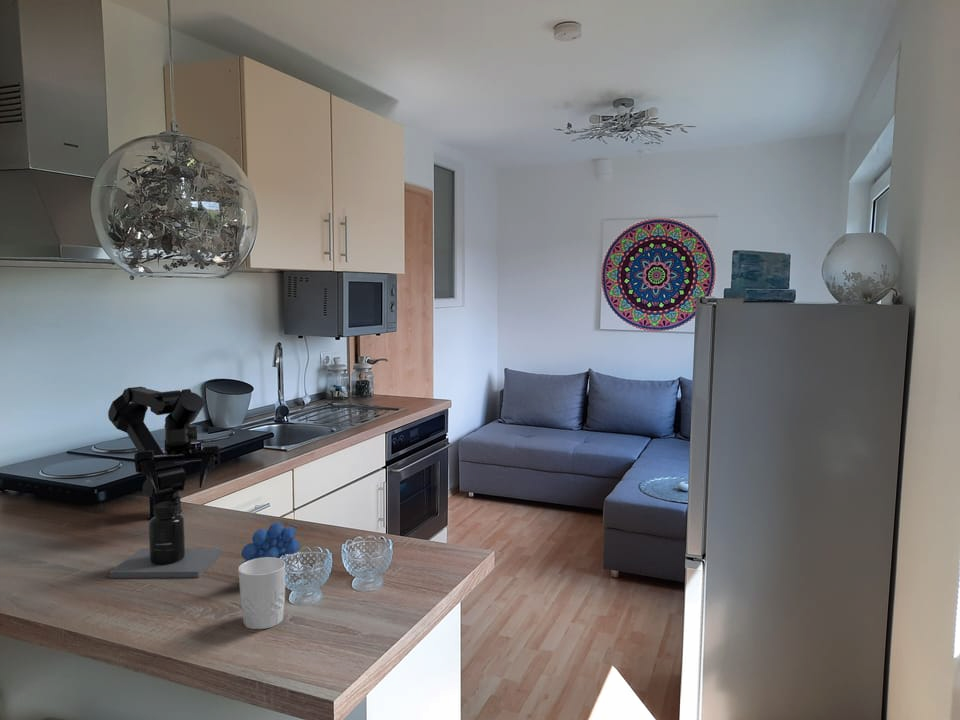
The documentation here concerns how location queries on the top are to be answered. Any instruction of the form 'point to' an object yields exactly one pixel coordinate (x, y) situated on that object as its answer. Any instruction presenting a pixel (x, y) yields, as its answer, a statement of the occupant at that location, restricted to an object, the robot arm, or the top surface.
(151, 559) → the supplement bottle
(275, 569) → the white cup
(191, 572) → the board
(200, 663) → the top surface
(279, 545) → the grapes
